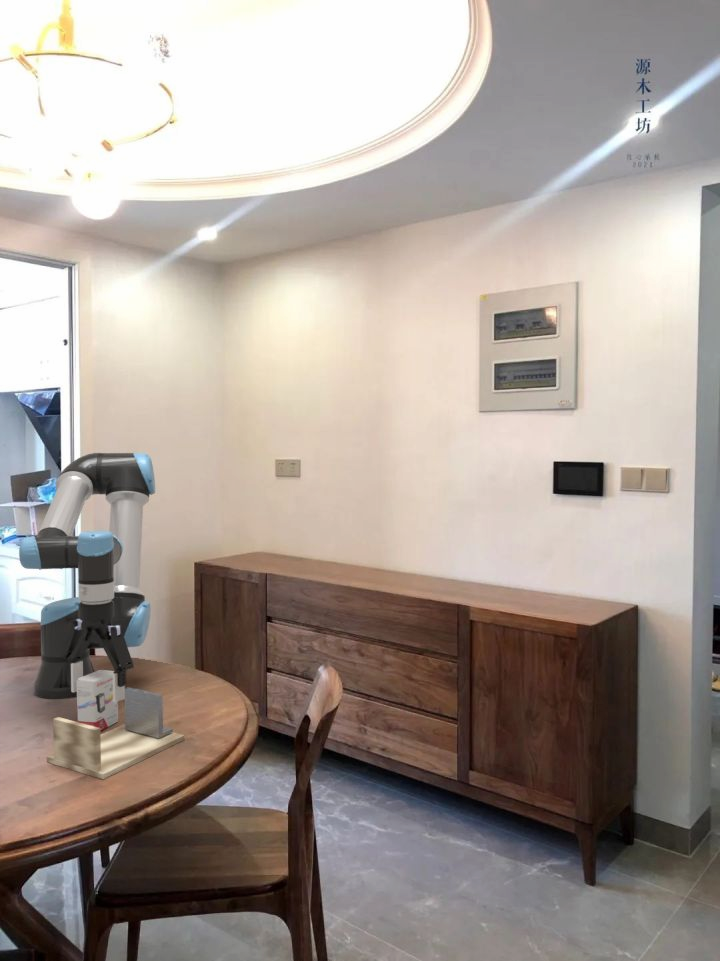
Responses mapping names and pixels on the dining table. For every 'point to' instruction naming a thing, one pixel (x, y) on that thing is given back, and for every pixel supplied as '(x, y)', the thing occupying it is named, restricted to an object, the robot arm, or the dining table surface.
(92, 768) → the rack
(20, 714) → the dining table surface
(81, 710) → the ink box
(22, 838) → the dining table surface
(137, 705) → the bookend
